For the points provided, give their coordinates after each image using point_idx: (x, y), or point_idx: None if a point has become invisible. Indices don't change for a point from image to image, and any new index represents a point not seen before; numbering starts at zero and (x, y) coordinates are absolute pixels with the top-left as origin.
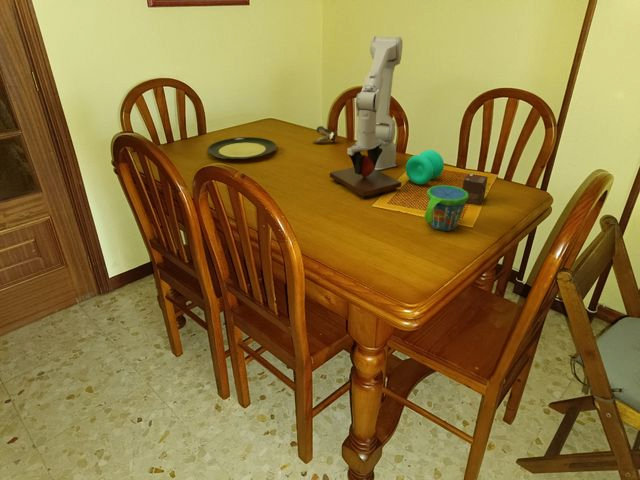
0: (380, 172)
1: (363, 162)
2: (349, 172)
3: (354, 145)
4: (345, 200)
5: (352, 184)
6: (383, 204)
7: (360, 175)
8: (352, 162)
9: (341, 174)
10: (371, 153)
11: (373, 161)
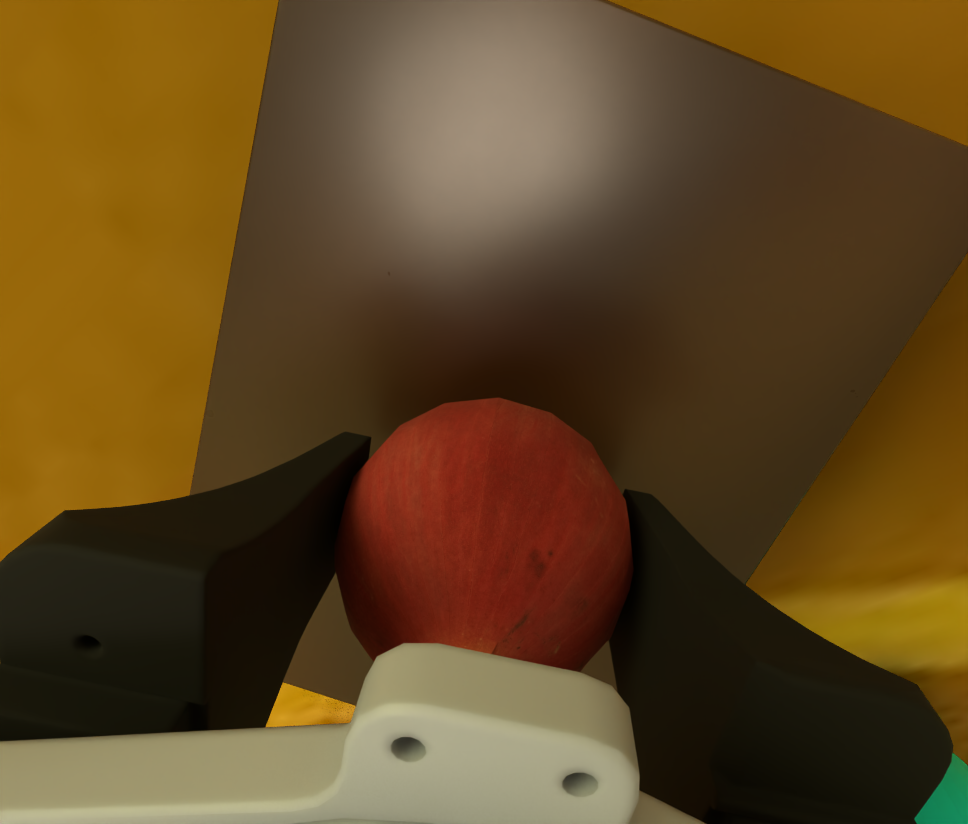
0: (765, 531)
1: (361, 642)
2: (517, 186)
3: (47, 819)
4: (90, 462)
5: (210, 468)
6: (278, 713)
7: (516, 386)
8: (234, 485)
9: (364, 135)
10: (668, 729)
11: (627, 655)
